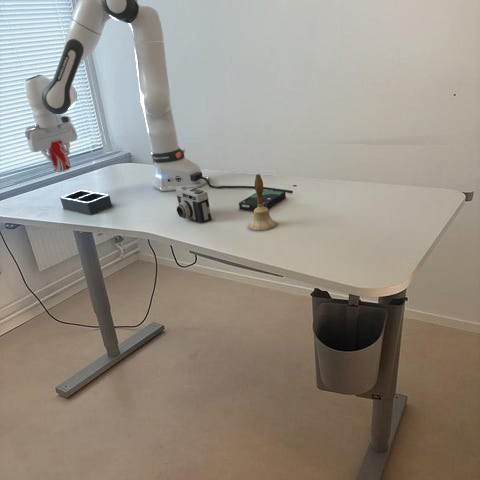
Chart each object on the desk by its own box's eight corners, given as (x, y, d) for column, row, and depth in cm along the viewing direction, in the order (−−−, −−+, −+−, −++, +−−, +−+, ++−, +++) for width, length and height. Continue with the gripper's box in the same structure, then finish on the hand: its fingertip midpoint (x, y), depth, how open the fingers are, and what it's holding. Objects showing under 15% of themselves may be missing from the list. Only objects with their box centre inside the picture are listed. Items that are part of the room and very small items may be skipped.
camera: (170, 218, 171) (165, 190, 166) (190, 211, 175) (185, 183, 170) (192, 227, 161) (186, 197, 156) (212, 219, 165) (208, 190, 160)
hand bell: (257, 220, 159) (251, 170, 151) (280, 222, 155) (276, 171, 147) (244, 229, 153) (238, 178, 145) (268, 232, 149) (263, 179, 141)
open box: (112, 206, 192) (109, 194, 190) (90, 215, 186) (87, 203, 184) (84, 200, 204) (81, 189, 201) (63, 208, 198) (59, 197, 195)
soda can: (66, 172, 199) (56, 141, 192) (51, 173, 200) (40, 143, 194) (74, 167, 204) (65, 137, 198) (59, 168, 206) (50, 139, 200)
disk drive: (264, 213, 164) (286, 198, 174) (263, 205, 162) (285, 190, 172) (239, 210, 169) (261, 196, 179) (238, 202, 168) (260, 188, 178)
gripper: (27, 128, 184) (40, 165, 192) (73, 115, 197) (84, 151, 204) (19, 128, 188) (32, 164, 195) (65, 116, 200) (75, 150, 208)
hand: (59, 157), depth 200 cm, fingers closed on soda can, 7 cm apart
